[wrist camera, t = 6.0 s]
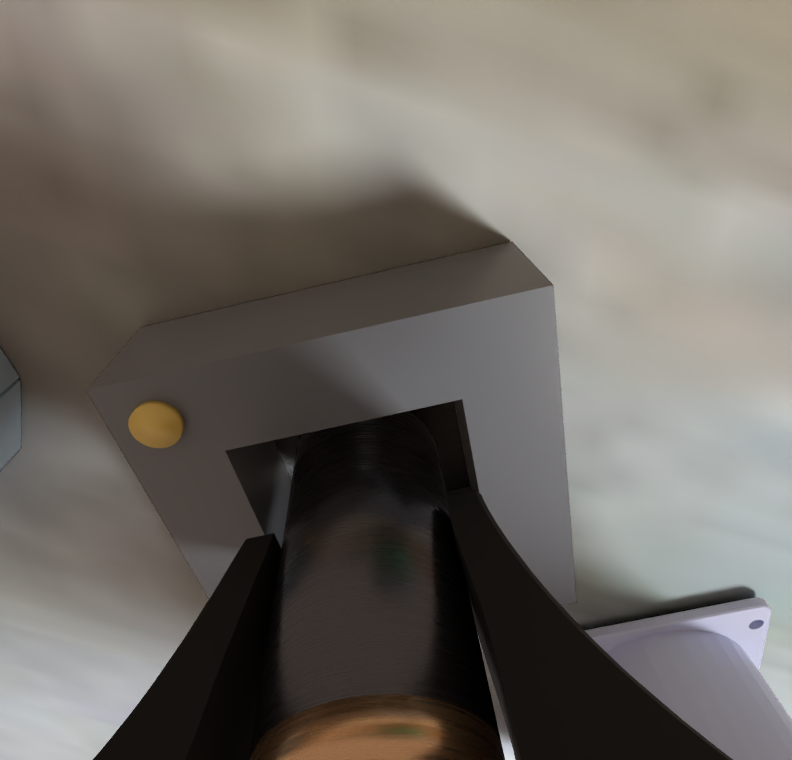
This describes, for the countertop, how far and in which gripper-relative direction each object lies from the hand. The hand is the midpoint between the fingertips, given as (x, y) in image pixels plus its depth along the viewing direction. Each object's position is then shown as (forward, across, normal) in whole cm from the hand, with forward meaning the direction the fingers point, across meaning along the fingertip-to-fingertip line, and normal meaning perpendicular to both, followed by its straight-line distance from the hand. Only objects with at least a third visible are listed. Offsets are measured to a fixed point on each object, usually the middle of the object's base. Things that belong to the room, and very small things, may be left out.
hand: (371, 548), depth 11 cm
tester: (+4, 0, 0) cm, 4 cm away
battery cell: (+3, 0, 0) cm, 3 cm away
